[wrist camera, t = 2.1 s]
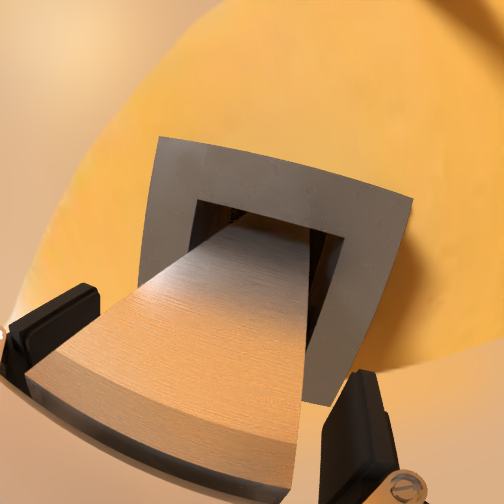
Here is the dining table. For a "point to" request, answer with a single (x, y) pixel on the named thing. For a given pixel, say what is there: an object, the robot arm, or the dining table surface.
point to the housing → (290, 210)
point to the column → (198, 364)
